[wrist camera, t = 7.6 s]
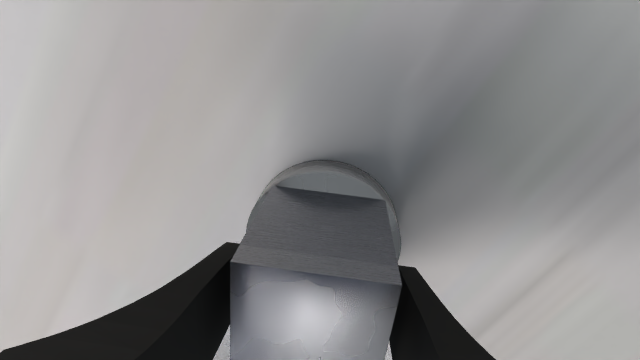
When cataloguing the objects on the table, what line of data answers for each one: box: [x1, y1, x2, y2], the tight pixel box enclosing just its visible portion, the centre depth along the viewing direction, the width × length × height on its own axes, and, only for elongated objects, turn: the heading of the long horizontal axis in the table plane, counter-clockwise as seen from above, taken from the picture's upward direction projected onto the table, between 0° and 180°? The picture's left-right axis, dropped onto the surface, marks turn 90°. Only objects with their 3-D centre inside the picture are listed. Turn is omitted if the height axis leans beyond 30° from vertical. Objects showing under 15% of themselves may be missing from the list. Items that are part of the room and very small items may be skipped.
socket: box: [230, 185, 402, 360], centre depth 12 cm, size 4×4×5 cm
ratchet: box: [246, 160, 401, 262], centre depth 16 cm, size 16×6×4 cm, turn 174°
